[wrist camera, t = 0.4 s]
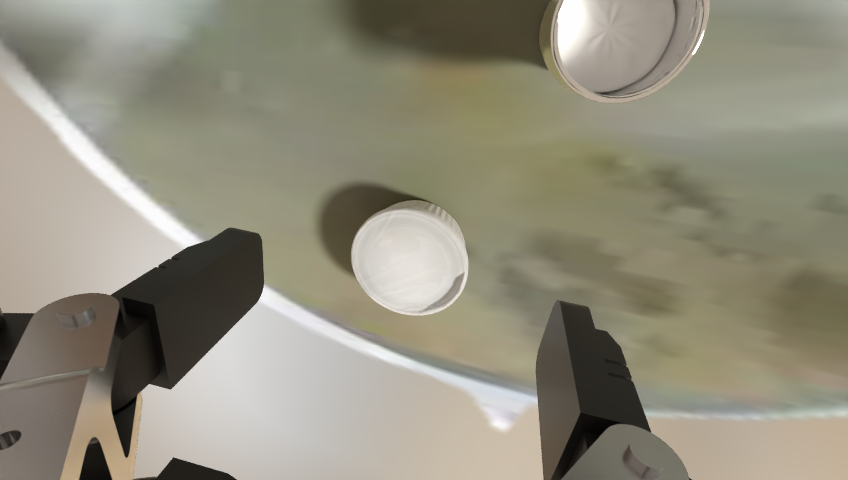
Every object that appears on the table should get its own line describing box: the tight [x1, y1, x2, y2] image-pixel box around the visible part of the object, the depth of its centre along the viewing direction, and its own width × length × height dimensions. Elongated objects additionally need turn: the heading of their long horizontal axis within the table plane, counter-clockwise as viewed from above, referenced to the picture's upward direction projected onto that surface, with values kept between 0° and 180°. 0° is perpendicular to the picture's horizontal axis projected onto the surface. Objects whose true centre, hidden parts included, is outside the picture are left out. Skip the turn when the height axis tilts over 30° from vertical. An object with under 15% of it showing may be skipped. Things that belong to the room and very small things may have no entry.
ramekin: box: [351, 200, 468, 316], centre depth 40 cm, size 11×11×5 cm
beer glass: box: [539, 0, 710, 103], centre depth 25 cm, size 7×7×15 cm
